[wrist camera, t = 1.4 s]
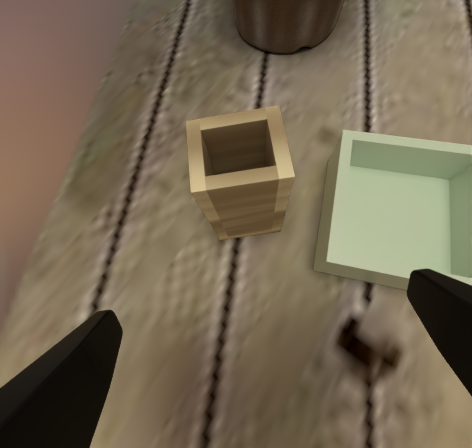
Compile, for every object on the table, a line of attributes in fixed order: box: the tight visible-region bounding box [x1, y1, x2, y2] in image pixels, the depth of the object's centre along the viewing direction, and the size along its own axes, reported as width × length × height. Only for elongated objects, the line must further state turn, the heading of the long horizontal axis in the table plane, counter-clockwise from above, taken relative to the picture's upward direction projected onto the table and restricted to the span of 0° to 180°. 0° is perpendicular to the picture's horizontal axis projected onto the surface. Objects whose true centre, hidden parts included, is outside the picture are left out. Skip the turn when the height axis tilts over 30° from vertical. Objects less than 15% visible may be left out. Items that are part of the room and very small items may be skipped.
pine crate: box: [186, 105, 295, 240], centre depth 18 cm, size 5×5×10 cm
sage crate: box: [313, 130, 472, 290], centre depth 19 cm, size 11×11×4 cm
